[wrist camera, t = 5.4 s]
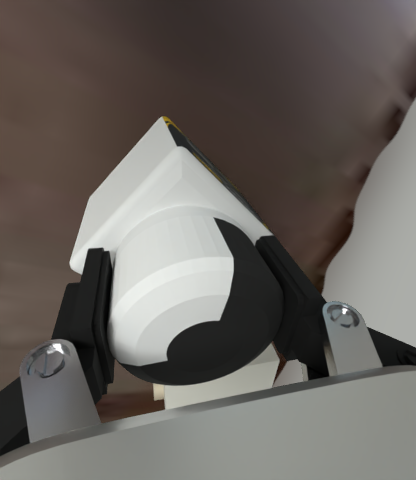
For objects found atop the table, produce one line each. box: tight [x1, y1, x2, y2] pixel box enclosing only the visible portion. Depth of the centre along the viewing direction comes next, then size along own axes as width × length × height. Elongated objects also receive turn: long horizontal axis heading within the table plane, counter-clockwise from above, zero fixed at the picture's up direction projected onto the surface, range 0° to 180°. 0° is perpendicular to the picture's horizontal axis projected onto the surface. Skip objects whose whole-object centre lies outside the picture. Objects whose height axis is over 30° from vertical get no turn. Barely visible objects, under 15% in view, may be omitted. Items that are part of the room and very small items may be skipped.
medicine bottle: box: [70, 116, 285, 386], centre depth 14 cm, size 7×7×12 cm
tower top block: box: [163, 343, 280, 410], centre depth 28 cm, size 10×10×4 cm
